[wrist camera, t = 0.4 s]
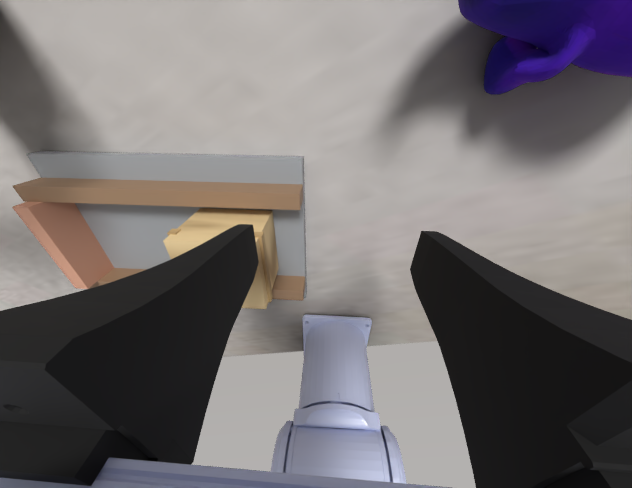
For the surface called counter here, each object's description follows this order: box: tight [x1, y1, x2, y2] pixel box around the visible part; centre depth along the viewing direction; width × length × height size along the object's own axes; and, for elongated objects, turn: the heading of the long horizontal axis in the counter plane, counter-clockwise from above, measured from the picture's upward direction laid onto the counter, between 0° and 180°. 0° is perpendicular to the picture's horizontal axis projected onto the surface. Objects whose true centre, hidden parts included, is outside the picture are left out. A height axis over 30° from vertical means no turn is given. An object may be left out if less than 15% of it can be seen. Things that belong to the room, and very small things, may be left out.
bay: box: [12, 151, 307, 300], centre depth 19 cm, size 14×21×5 cm, turn 90°
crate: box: [163, 208, 279, 309], centre depth 18 cm, size 6×6×5 cm
